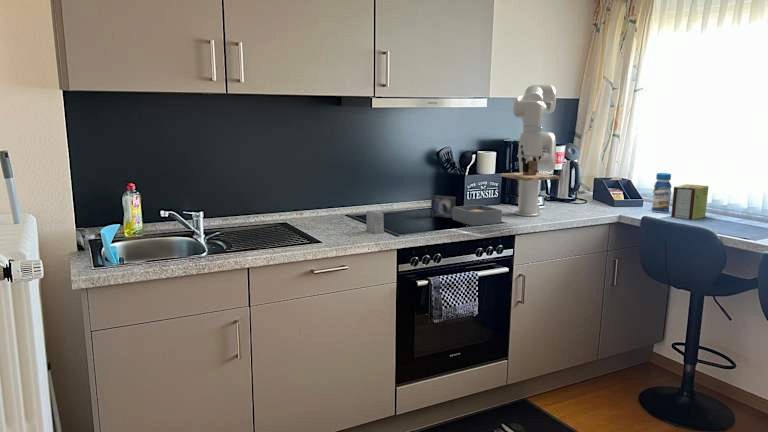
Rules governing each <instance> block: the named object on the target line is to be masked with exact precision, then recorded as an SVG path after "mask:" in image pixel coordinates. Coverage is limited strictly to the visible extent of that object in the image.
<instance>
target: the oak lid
mask: <svg viewBox="0 0 768 432" xmlns="http://www.w3.org/2000/svg"><path fill="white" fill-rule="evenodd" d="M528 163H529V167H528V172H521V173H520V172H505V173H504V172H503V173H500V177H504V178H510V179H515V180H519V181H520V180H524V181H531V180H539V181H545V180H559V179H560V176H559V175H555V174H554V175H553V174H547V173H543V172H542V173H541V172H536V169H537V161H528Z"/></svg>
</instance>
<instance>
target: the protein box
mask: <svg viewBox="0 0 768 432" xmlns="http://www.w3.org/2000/svg"><path fill="white" fill-rule="evenodd" d="M709 188H710V187H709V185H699V184H691V183H689V184H688V183H687V184H681V185H676V186H673V192H672V193H673V195H672V205H671V216H670V218H674V219H675V218H676V219H682V220H687V221H688V220H690V221H694V220H698V219H702V218H705V217H706V212H707V203H708V194H709Z"/></svg>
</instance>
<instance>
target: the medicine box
mask: <svg viewBox="0 0 768 432" xmlns="http://www.w3.org/2000/svg"><path fill="white" fill-rule="evenodd" d="M365 216H366V217H365V220H366V223H365V224H366V225H365V226H366V227H365V228H366V231H367V232H370V233H372V234H376V235H377V234H384V231H385V230H384V228H385V227H384V225H385V224H384V213H383V212H382V211H377V210H368V211H366V215H365Z"/></svg>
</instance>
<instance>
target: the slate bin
mask: <svg viewBox="0 0 768 432" xmlns="http://www.w3.org/2000/svg"><path fill="white" fill-rule="evenodd" d="M475 209H478V210H484V211H479V212H472V211H469V210H475ZM502 212H503V211H502V209H500V208H496V207H492V206H487V205H483V204H473V205H472V204H471V205H461V206H455V207H453V217H452V220H453V221H455V222H459V223H462V224H465V225H469V226H471V227H474V226H484V225H494V224H501V223H502V218H503V217H502V216H503V215H502Z"/></svg>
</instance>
